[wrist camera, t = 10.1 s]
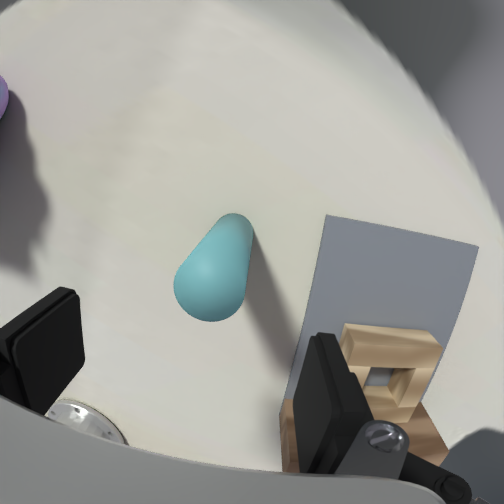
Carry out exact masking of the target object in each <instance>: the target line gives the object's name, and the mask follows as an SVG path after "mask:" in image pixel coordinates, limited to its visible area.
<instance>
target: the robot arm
mask: <svg viewBox="0 0 504 504" xmlns="http://www.w3.org/2000/svg"><path fill="white" fill-rule="evenodd" d="M84 362H85V353H84V345H83V335H82V325H81V312H80V298H79V296H78V295H77V294H76V292H75V290H73V289H69V288H65V287H58V288H57V289H55V290H54V291H52V292H51V293H49V294H48V295H47V296H45V297H44V298H42V299H41V300H39V301H38V302H36V303H35V304H34V305H32V306H31V307H29V308H28V309H26V310H25V311H24V312H22V313H21V314H19V315H18V316H17V317H15V318H14V319H13V320H11V321H10V322H8V323H7V324H6V325H4V326H3V327H2V328H0V504H489V503H488V502H486V501H485V500H483V499H481V498H480V497H478V498H477V499H476V500H474V499H472V493H471V488H470V487H469V485H468V483H467V482H466V481H465V480H464V479H462V478H461V477H459V476H457V475H455V474H453V473H451V472H449V471H447V470H444V469H442V468H440V467H438V466H436V465H434V464H432V463H430V462H428V461H426V460H424V459H422V458H420V457H418V456H416V455H414V454H412V453H410V452H408V448H409V443H410V440H409V437H408V435H407V433H406V432H405V431H404V430H403V429H402V428H401V427H400V426H398V425H396V424H394V423H392V422H389V421H385V420H374V417H373V415H372V412H371V410H370V407H369V405H368V402H367V400H366V397H365V395H364V393H363V390H362V388H361V385H360V383H359V380H358V378H357V376H356V374H355V373H354V372H350V370H349V368H348V365H347V363H346V360H345V358H344V355H343V353H342V350H341V348H340V345H339V343H338V341H337V338H336V336H335V334H332V333H323V332H318V333H317V334H316V336H311V337H310V340H309V343H308V347H307V351H306V354H305V358H304V362H303V365H302V369H301V373H300V376H299V380H298V383H297V387H296V390H295V394H294V397H293V405H292V406H293V415H294V424H295V433H296V442H297V452H298V461H299V471H300V473H289V472H274V471H263V470H253V469H244V468H236V467H228V466H221V465H215V464H208V463H202V462H197V461H192V460H186V459H181V458H177V457H172V456H168V455H163V454H159V453H155V452H151V451H147V450H143V449H139V448H135V447H132V446H128V445H125V443H124V440H123V438H122V436H121V434H120V433H119V431H118V430H117V429H116V427H115V426H114V425H113V424H112V423H111V422H110V421H109V420H108V419H107V418H105V417H104V416H103V415H101V414H100V413H99V412H97V411H96V410H94V409H92V408H90V407H88V406H86V405H84V404H82V403H79V402H76V401H72V400H59V401H57V402H55V401H56V399H57V398H58V397H59V396H60V394H61V393H62V392H63V391H64V389H65V388H66V387H67V385H68V384H69V383H70V382H71V380H72V379H73V378H74V377H75V375H76V374H77V373H78V372H79V370H80V369H81V368H82V367H83V365H84ZM54 402H55V403H54ZM53 403H54V404H53ZM50 407H51V408H50ZM48 410H49V413H48V417H46V416H44V415H45V414H46V412H47V411H48Z"/></svg>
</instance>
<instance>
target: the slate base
mask: <svg viewBox="0 0 504 504" xmlns="http://www.w3.org/2000/svg"><path fill="white" fill-rule="evenodd" d="M478 249H479V247H478V246H475V245H471V244H467V243H463V242H458V241H454V240H450V239H445V238H441V237H436V236H432V235H427V234H423V233H418V232H413V231H408V230H404V229H399V228H394V227H389V226H384V225H379V224H374V223H369V222H363V221H358V220H353V219H347V218H342V217H337V216H331V215H326V217H325V223H324V228H323V233H322V238H321V243H320V248H319V253H318V258H317V263H316V268H315V272H314V277H313V282H312V286H311V291H310V295H309V300H308V304H307V309H306V313H305V317H304V321H303V326H302V330H301V334H300V338H299V342H298V346H297V350H296V354H295V358H294V362H293V366H292V370H291V373H290V377H289V381H288V385H287V388H286V392H285V396H284V399H293V397H294V394H295V390H296V387H297V383H298V380H299V376H300V373H301V369H302V365H303V362H304V358H305V354H306V351H307V347H308V343H309V340H310V337H311V336H316V334H317V333H318V332H323V333H332V334H335V336H336V338H337V341H338V343H339V341H340V338H341V335H342V331H343V328H344V324H345V323H348V324H357V325H368V326H378V327H390V328H402V329H415V330H427V331H428V332H429V333H430V334H431V335H432V336H433V337H434V338H435V339H436V341H437V342H438V343H439V344H440V345H441V346H442V347H443V350H442V353H441V355H440V357H439V360H438V362H437V364H436V367H435V369H434V371H433V373H432V375H431V378H430V380H429V382H428V384H427V386H426V388H425V390H424V392H423V394H422V396H421V398H420V400H419V402H421V400H422V399H423V397H424V395H425V393H426V391H427V388H428V386H429V384H430V382H431V380H432V378H433V376H434V374H435V372H436V369H437V367H438V365H439V363H440V360H441V358H442V356H443V353H444V351H445V349H446V346H447V344H448V341H449V339H450V336H451V334H452V331H453V328H454V326H455V323H456V320H457V318H458V315H459V312H460V309H461V306H462V303H463V300H464V297H465V294H466V291H467V288H468V285H469V281H470V278H471V275H472V271H473V268H474V264H475V260H476V256H477V253H478ZM394 369H395V368H387V367H371V368H370V371H369V373H368V376H367V378H366V381H365V383H364V386H387V385H388V383H389V381H390V378H391V376H392V373H393V371H394ZM284 399H283V403H284ZM283 403H282V406H283ZM282 406H281V410H282ZM281 410H280V413H281ZM280 413H279V417H280Z"/></svg>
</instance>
